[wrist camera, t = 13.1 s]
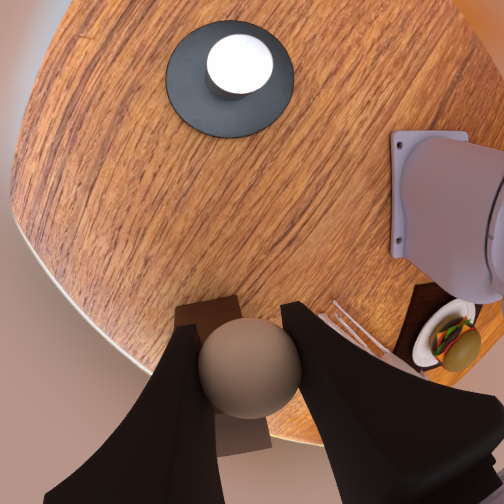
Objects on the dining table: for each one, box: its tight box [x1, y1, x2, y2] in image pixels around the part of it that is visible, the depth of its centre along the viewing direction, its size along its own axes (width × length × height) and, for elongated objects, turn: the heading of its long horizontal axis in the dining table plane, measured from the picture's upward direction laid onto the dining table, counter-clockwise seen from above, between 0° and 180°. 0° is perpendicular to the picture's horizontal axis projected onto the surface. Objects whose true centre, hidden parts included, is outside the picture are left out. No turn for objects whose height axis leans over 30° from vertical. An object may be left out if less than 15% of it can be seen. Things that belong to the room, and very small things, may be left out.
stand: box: [173, 295, 272, 457], centre depth 18 cm, size 4×4×10 cm
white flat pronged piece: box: [318, 300, 430, 381], centre depth 23 cm, size 2×11×18 cm
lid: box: [165, 20, 294, 138], centre depth 13 cm, size 7×7×5 cm
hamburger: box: [393, 282, 483, 373], centre depth 25 cm, size 12×12×6 cm
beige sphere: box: [198, 318, 302, 419], centre depth 8 cm, size 3×3×3 cm
